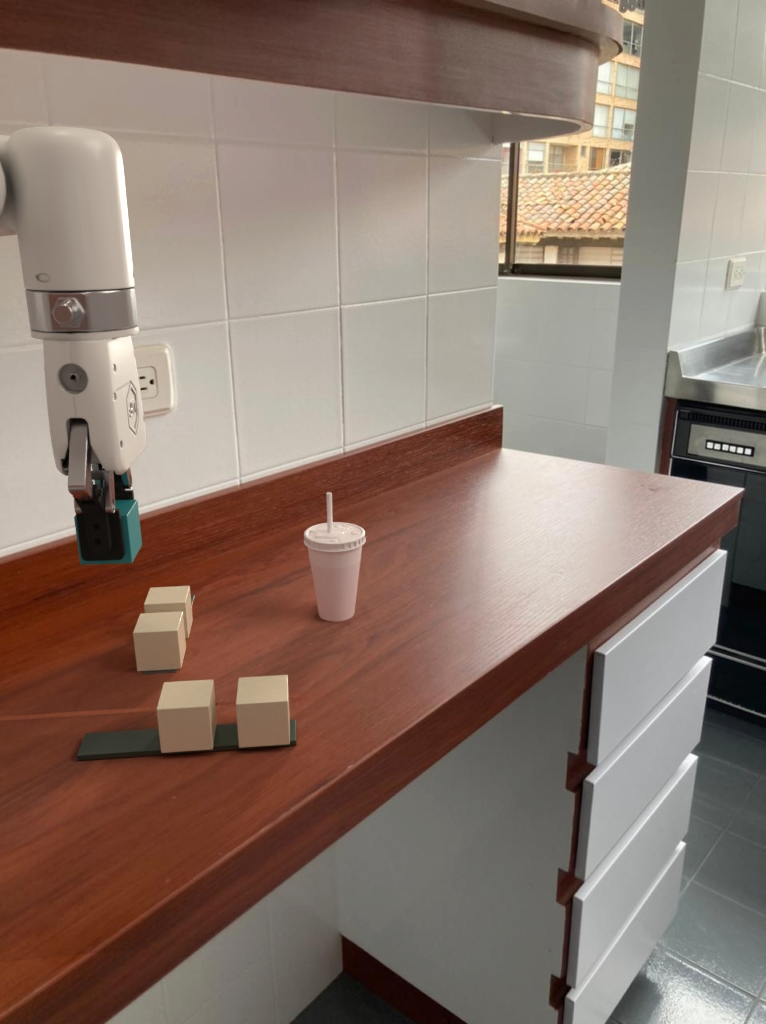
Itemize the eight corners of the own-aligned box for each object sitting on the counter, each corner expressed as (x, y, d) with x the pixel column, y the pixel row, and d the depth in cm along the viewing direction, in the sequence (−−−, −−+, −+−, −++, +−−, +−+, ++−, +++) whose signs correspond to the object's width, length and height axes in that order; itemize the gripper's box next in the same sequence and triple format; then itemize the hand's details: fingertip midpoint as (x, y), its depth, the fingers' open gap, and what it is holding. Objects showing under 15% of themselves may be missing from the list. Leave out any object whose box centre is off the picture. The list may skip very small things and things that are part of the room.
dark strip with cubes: (75, 765, 63) (68, 714, 62) (87, 734, 67) (80, 686, 65) (296, 749, 65) (294, 700, 63) (295, 720, 69) (293, 673, 67)
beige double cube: (136, 679, 75) (131, 635, 74) (163, 600, 91) (159, 562, 89) (181, 676, 75) (176, 632, 74) (199, 598, 91) (196, 561, 90)
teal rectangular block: (132, 563, 64) (127, 515, 63) (80, 565, 64) (73, 516, 62) (142, 545, 68) (137, 499, 66) (93, 546, 67) (87, 500, 66)
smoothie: (294, 615, 87) (289, 490, 83) (342, 598, 91) (339, 478, 86) (330, 637, 83) (326, 506, 78) (379, 618, 86) (378, 492, 82)
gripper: (109, 326, 52) (137, 589, 58) (157, 304, 68) (175, 512, 74) (-13, 327, 51) (28, 593, 57) (64, 305, 67) (90, 514, 73)
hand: (110, 545), depth 65 cm, fingers closed on teal rectangular block, 4 cm apart
